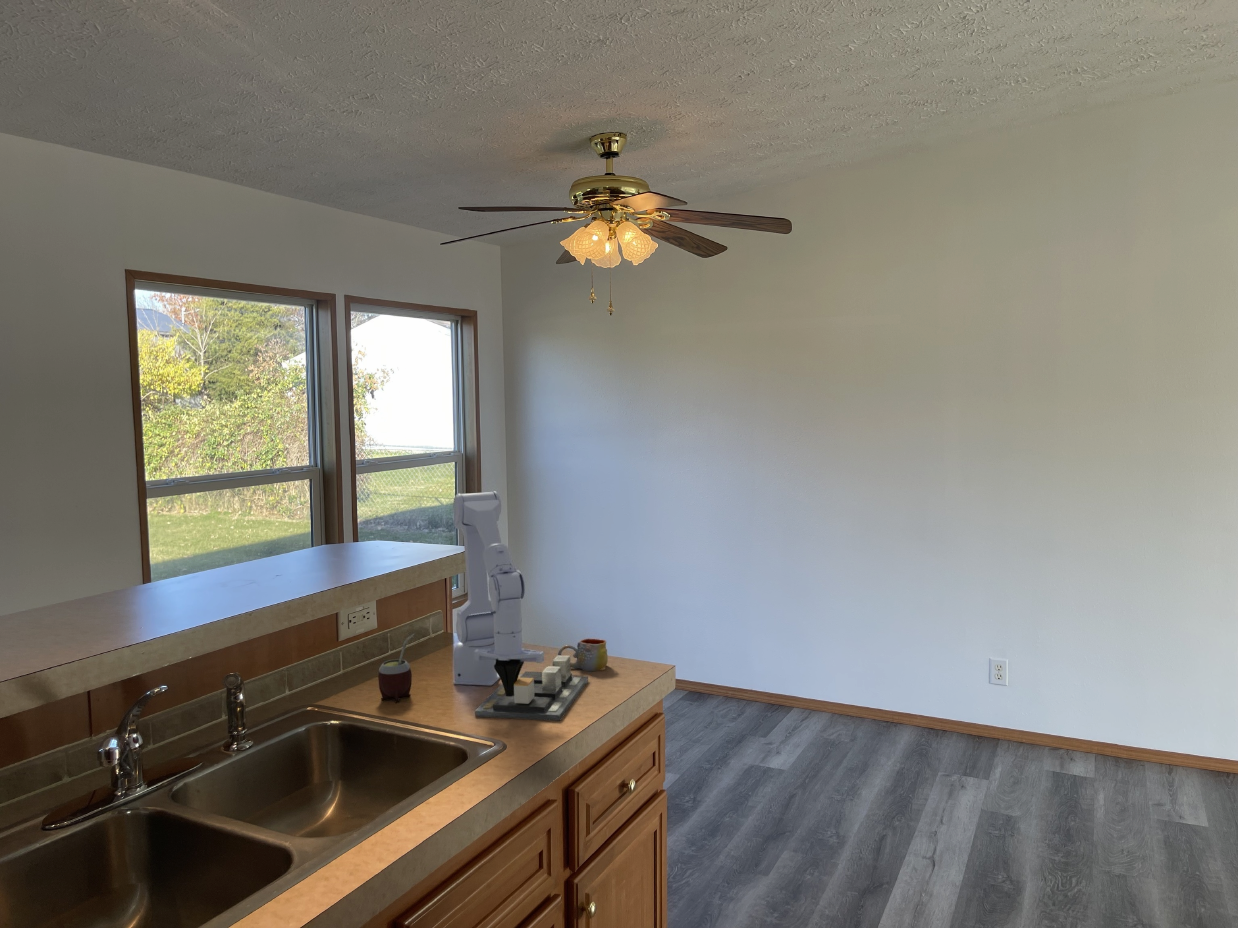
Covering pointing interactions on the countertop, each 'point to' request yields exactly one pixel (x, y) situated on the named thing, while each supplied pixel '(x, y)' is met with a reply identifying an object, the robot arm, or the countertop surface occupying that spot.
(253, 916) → the countertop surface
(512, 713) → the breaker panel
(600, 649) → the mug
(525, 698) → the block
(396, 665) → the mate gourd
